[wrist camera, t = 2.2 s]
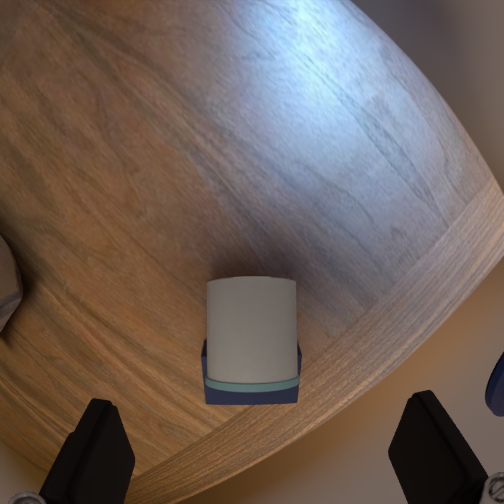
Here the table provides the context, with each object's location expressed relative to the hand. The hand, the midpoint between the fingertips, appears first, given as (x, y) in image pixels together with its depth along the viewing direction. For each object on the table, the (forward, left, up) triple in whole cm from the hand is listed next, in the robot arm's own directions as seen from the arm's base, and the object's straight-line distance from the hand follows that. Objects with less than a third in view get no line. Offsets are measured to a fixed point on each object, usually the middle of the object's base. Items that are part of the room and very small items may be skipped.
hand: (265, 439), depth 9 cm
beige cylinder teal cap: (0, +5, -20) cm, 21 cm away
